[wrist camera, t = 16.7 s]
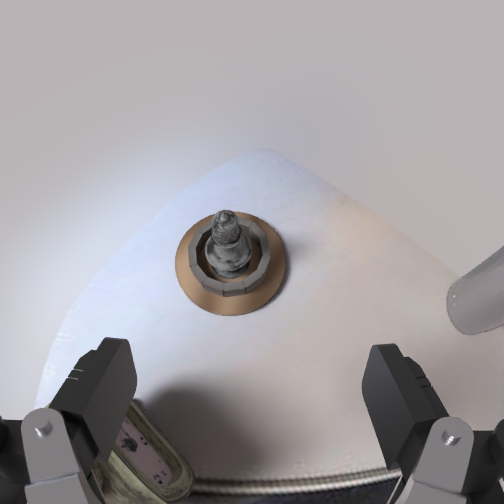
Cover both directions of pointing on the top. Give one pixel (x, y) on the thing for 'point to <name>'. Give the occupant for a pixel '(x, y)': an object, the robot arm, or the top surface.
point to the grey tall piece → (228, 246)
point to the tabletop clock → (143, 465)
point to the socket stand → (241, 288)
